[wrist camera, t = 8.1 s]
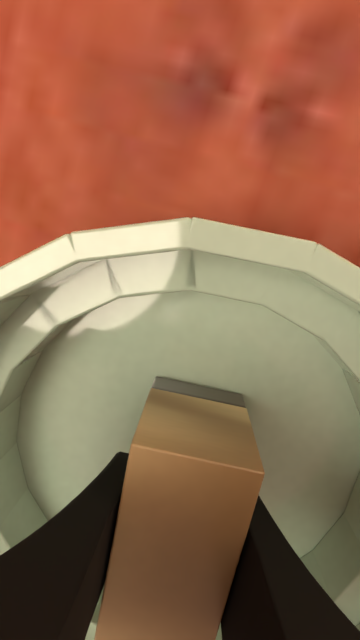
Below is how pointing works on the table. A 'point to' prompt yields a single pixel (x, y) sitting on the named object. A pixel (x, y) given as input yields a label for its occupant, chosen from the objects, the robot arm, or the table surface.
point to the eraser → (181, 515)
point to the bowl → (186, 371)
